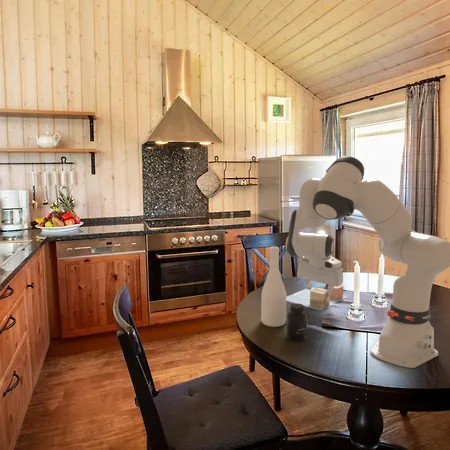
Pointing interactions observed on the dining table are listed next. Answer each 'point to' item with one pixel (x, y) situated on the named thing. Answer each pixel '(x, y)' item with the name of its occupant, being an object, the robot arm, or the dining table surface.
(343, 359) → the dining table surface
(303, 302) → the white rectangular board
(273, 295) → the wine bottle
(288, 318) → the supplement bottle
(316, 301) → the maple block
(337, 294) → the terracotta cube
